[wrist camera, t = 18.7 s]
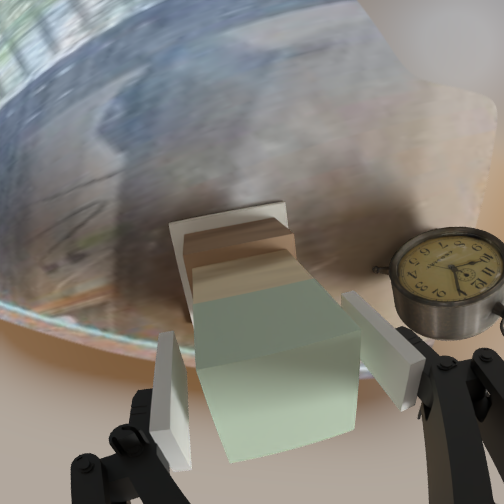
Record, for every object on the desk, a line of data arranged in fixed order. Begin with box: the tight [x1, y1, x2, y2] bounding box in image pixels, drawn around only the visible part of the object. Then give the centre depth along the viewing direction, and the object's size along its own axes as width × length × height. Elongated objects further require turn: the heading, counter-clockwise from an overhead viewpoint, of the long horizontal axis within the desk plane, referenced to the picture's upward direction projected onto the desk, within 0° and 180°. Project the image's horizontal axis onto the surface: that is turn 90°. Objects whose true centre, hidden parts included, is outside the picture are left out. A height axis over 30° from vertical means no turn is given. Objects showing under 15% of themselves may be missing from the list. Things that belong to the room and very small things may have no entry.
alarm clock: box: [372, 227, 504, 341], centre depth 22 cm, size 11×5×16 cm, turn 113°
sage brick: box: [193, 278, 361, 463], centre depth 14 cm, size 6×6×5 cm
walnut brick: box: [183, 217, 297, 298], centre depth 23 cm, size 7×7×5 cm
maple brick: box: [192, 249, 313, 304], centre depth 19 cm, size 6×6×5 cm
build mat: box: [169, 201, 288, 327], centre depth 26 cm, size 9×9×1 cm
